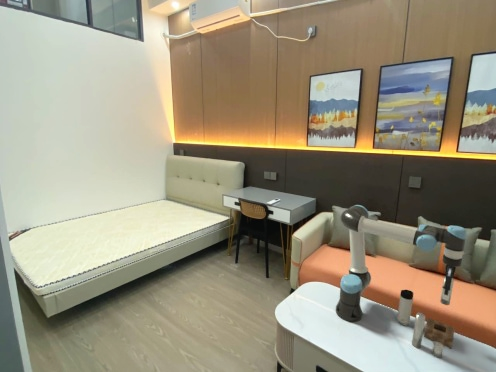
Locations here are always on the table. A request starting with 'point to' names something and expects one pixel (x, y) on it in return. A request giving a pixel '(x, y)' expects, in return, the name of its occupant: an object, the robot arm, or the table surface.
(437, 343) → the pin short
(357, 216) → the robot arm
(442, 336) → the hole block
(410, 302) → the travel mug
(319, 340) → the table surface
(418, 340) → the pin long
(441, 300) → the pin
